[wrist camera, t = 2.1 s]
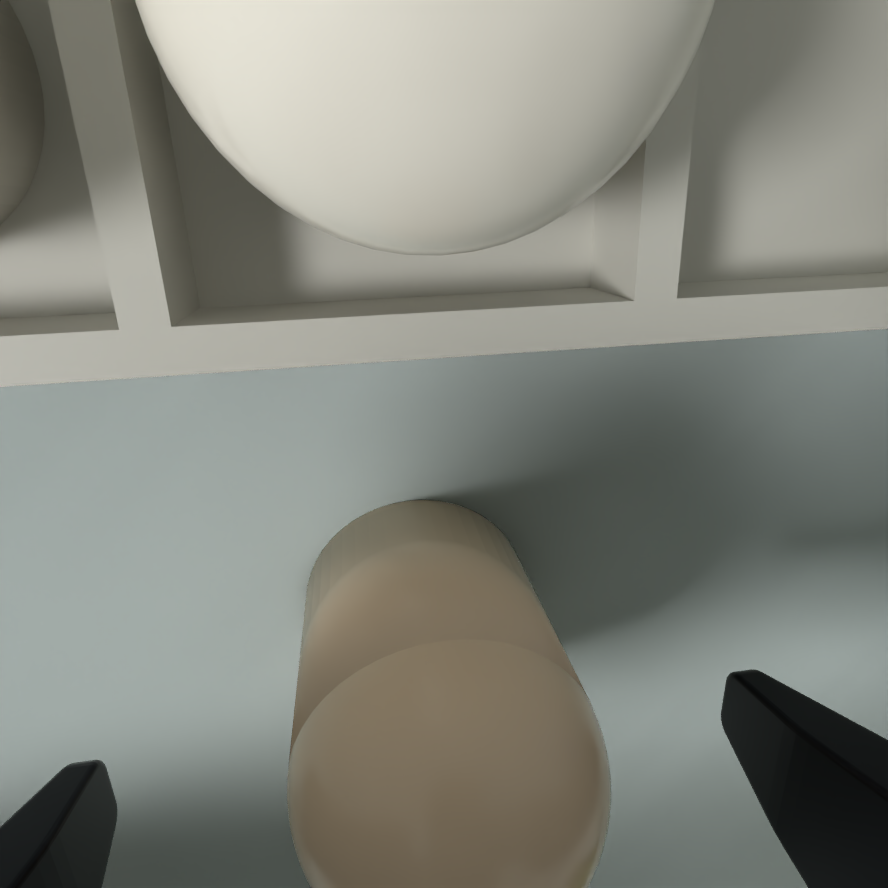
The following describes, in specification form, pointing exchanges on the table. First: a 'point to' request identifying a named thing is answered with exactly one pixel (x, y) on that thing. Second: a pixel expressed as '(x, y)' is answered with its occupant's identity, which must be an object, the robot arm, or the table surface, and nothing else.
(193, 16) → the egg
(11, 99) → the egg
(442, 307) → the carton
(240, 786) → the table surface
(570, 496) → the table surface
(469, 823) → the brown egg
